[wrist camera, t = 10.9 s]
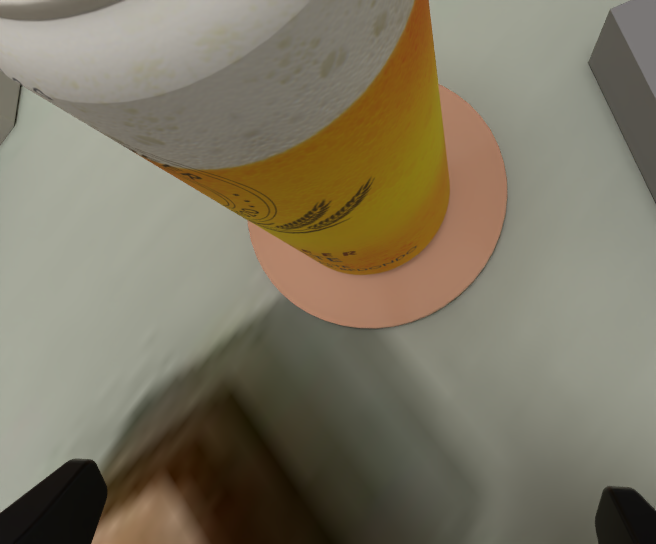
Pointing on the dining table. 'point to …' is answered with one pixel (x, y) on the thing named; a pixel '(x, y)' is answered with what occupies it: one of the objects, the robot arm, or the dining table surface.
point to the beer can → (260, 108)
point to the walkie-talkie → (7, 104)
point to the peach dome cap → (431, 263)
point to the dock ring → (631, 78)
